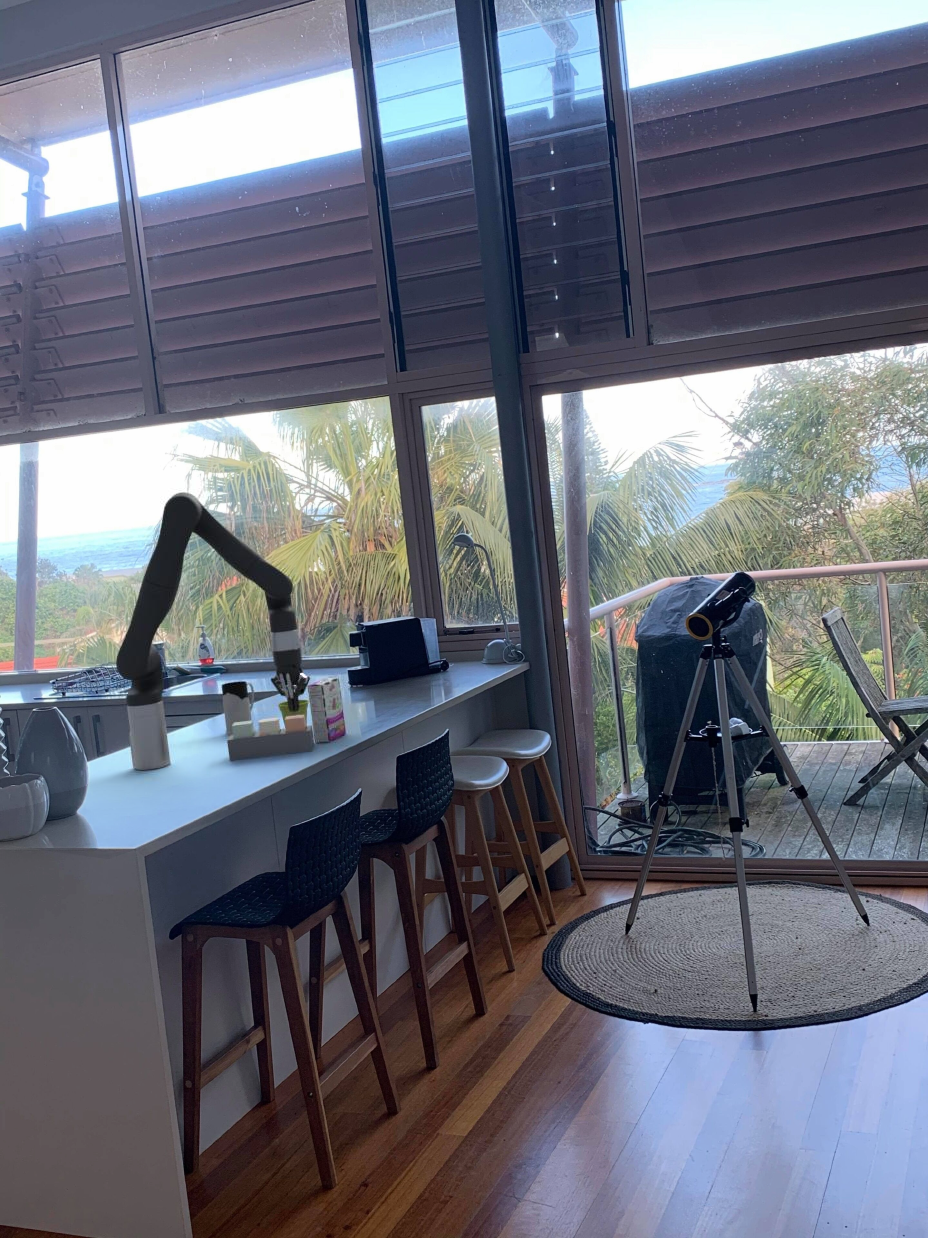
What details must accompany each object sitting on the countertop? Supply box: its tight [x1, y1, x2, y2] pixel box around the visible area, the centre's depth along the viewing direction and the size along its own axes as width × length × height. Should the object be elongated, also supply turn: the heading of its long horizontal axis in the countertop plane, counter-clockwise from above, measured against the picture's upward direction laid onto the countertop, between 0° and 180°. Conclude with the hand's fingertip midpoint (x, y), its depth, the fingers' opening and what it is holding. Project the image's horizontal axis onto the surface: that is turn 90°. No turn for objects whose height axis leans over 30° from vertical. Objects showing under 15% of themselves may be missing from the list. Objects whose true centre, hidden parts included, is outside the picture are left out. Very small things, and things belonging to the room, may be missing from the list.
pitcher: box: [221, 680, 255, 736], centre depth 349 cm, size 9×14×15 cm, turn 158°
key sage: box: [232, 719, 255, 739], centre depth 307 cm, size 5×5×5 cm
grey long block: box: [226, 724, 315, 762], centre depth 307 cm, size 22×8×6 cm, turn 94°
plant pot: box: [277, 699, 310, 729], centre depth 338 cm, size 9×9×9 cm
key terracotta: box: [284, 714, 306, 733], centre depth 308 cm, size 5×5×5 cm
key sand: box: [257, 716, 281, 735], centre depth 307 cm, size 5×5×5 cm
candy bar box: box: [307, 677, 347, 744], centre depth 319 cm, size 11×5×16 cm, turn 161°
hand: (294, 711), depth 307 cm, fingers closed
